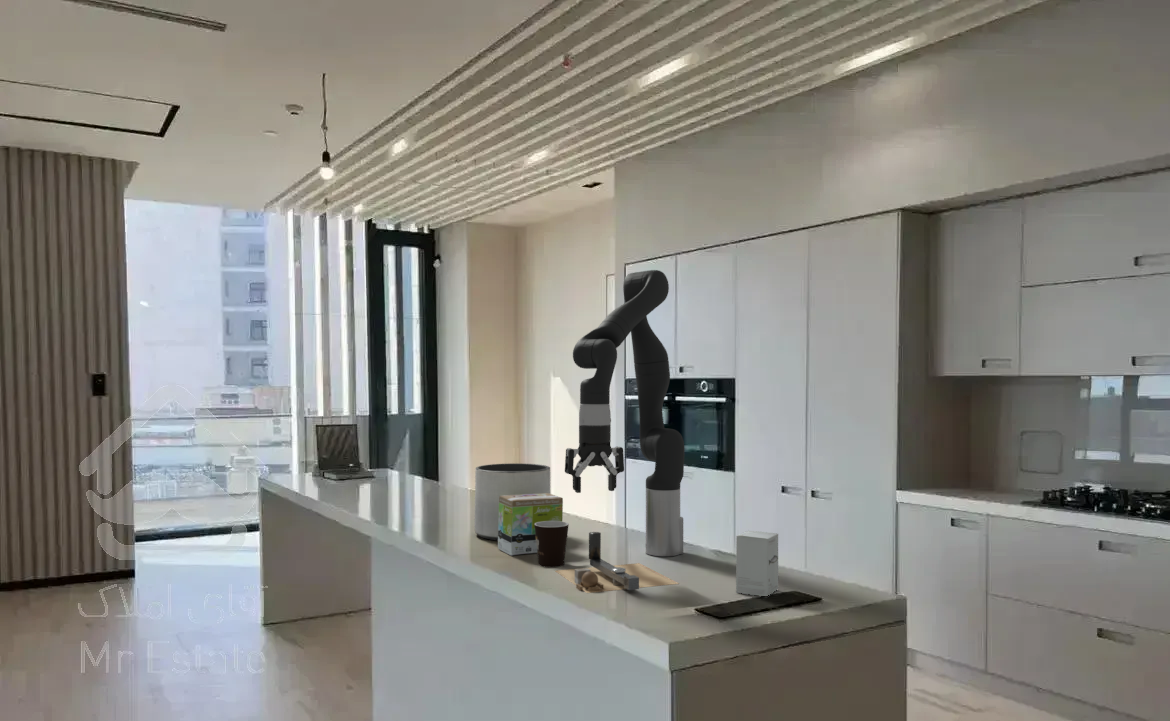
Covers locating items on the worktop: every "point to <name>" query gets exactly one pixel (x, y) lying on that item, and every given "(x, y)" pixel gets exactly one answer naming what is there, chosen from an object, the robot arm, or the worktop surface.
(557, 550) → the coffee mug
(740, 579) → the supplement box
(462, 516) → the worktop surface
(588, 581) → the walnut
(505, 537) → the tea box
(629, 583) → the lever
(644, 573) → the press base
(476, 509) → the planter
